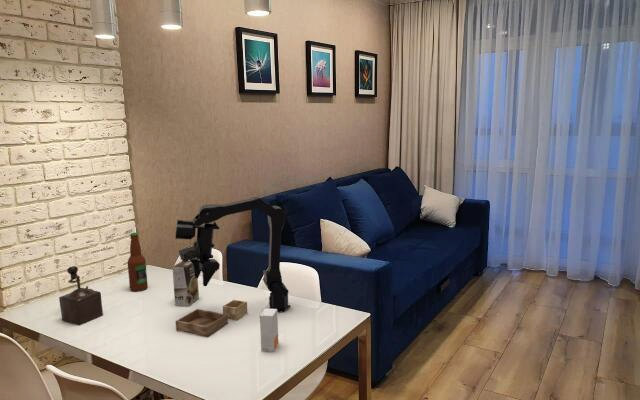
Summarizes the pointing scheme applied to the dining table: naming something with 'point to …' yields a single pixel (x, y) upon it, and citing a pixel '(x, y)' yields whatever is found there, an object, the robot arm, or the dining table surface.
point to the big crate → (202, 322)
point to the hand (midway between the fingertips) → (200, 282)
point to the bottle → (136, 266)
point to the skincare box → (269, 330)
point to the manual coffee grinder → (80, 302)
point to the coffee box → (185, 284)
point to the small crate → (235, 309)
